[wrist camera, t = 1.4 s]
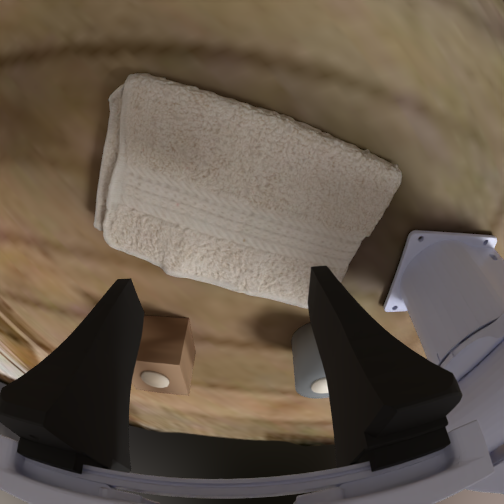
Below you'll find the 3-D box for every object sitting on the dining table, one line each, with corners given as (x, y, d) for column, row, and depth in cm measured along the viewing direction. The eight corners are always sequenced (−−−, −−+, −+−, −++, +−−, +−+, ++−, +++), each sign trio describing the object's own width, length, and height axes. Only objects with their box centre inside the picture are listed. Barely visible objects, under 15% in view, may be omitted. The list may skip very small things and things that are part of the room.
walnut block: (189, 317, 26) (179, 367, 22) (195, 351, 29) (188, 397, 25) (135, 313, 26) (118, 360, 22) (147, 347, 29) (135, 391, 25)
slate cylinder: (350, 319, 26) (363, 368, 22) (338, 353, 29) (347, 398, 25) (294, 320, 26) (300, 371, 22) (288, 354, 29) (292, 401, 25)
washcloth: (127, 66, 15) (105, 70, 12) (400, 159, 18) (421, 178, 16) (102, 227, 21) (85, 252, 19) (324, 290, 25) (330, 318, 22)
